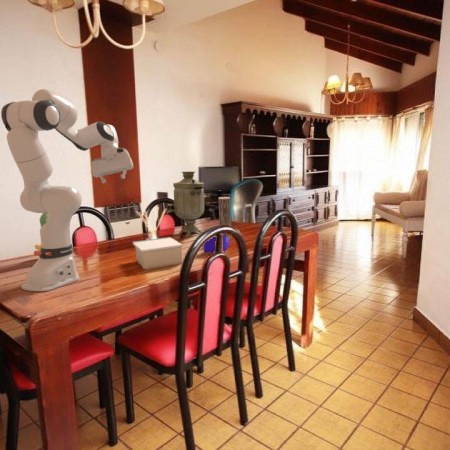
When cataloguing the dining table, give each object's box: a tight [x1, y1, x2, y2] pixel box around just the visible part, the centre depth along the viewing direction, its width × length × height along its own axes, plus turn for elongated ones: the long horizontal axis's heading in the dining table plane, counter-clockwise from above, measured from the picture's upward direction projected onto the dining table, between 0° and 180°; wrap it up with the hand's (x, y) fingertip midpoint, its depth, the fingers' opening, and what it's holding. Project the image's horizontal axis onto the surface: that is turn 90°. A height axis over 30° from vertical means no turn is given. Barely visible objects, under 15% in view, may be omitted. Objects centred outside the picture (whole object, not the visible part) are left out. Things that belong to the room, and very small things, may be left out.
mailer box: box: [135, 246, 183, 270], centre depth 172 cm, size 15×18×8 cm
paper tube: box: [218, 196, 232, 240], centre depth 216 cm, size 7×7×25 cm
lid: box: [132, 236, 183, 252], centre depth 173 cm, size 19×19×1 cm
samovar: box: [165, 171, 205, 236], centre depth 235 cm, size 30×26×40 cm
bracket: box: [203, 234, 230, 254], centre depth 194 cm, size 18×11×12 cm, turn 156°
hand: (113, 180), depth 174 cm, fingers open, 8 cm apart
